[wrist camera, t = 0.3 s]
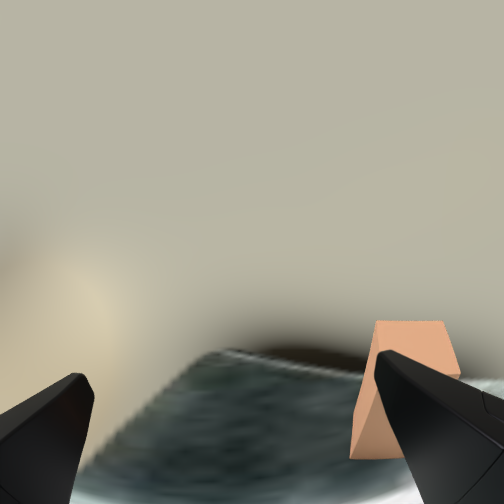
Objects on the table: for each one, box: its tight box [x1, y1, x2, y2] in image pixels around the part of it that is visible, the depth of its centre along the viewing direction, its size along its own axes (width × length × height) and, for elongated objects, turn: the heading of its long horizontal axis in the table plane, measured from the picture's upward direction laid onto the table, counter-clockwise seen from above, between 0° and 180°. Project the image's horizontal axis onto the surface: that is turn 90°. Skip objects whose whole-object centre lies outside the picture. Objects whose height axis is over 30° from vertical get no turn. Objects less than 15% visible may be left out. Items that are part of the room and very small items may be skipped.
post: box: [350, 321, 461, 459], centre depth 17 cm, size 5×5×11 cm
